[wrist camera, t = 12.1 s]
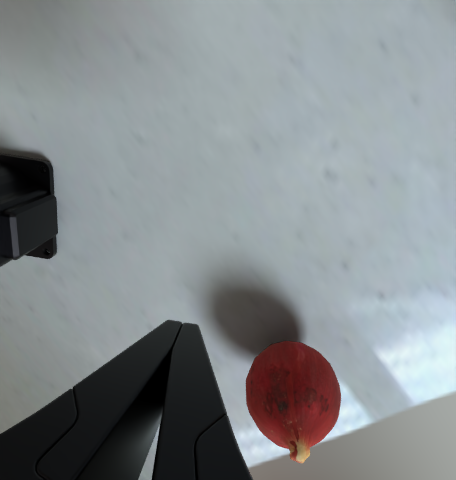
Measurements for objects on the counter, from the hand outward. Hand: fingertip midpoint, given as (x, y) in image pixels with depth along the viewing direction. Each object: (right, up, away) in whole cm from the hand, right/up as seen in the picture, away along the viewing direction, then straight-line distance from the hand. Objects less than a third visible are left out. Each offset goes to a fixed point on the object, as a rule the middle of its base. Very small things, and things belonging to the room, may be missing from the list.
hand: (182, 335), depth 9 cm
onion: (+6, -6, +16) cm, 18 cm away
